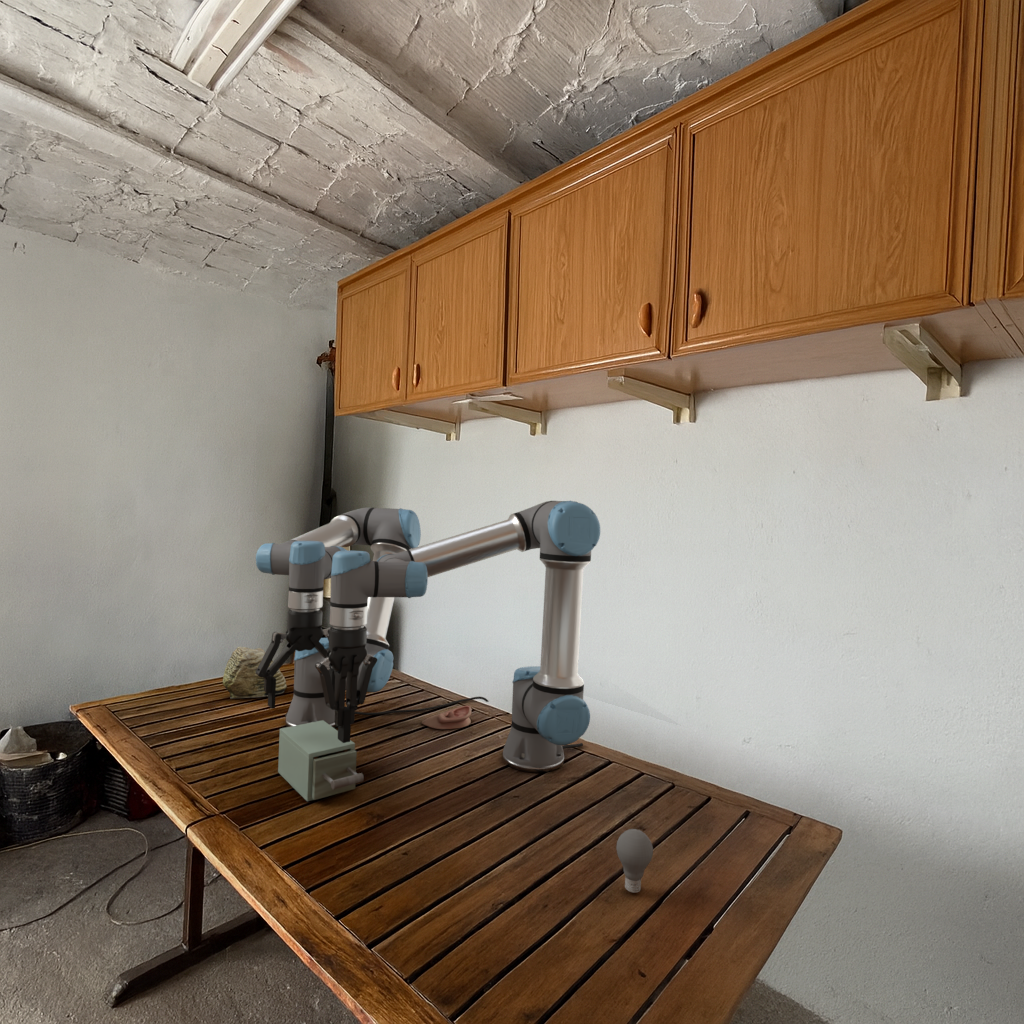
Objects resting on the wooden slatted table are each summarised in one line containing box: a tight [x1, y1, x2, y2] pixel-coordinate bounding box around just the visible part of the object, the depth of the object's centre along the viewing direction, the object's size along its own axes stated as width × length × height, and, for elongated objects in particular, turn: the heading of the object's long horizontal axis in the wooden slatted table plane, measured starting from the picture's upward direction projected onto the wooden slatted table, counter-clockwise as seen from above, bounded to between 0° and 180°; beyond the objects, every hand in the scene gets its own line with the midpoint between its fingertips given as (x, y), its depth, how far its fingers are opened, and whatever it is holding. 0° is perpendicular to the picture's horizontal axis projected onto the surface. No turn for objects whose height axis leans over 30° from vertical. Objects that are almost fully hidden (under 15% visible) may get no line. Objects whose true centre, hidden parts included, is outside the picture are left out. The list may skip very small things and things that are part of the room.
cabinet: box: [277, 720, 356, 802], centre depth 141 cm, size 17×10×10 cm, turn 40°
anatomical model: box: [421, 705, 472, 730], centre depth 181 cm, size 13×4×12 cm
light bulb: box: [615, 828, 654, 894], centre depth 106 cm, size 6×6×10 cm
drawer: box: [312, 749, 364, 801], centre depth 137 cm, size 22×9×8 cm, turn 40°
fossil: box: [222, 646, 288, 699], centre depth 198 cm, size 9×18×15 cm, turn 132°
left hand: (301, 701), depth 144 cm, fingers open, 13 cm apart
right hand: (343, 740), depth 130 cm, fingers closed
